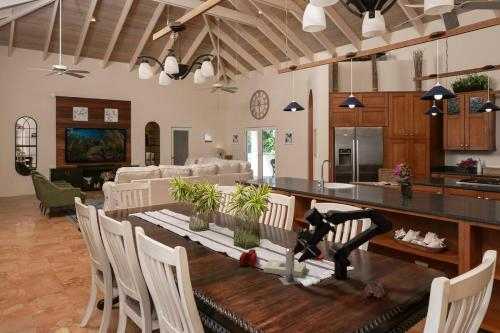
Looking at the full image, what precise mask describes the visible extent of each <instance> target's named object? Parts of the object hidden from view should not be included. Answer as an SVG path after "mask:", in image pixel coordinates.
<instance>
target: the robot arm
mask: <svg viewBox="0 0 500 333" xmlns="http://www.w3.org/2000/svg"><path fill="white" fill-rule="evenodd" d="M303 219H305V221H307V223H309V225H311V226H312V227H314V228H313V229H307V228H304V227H301V226H297V228H296V230H295V234H297V235H296V236H295V245H294V248H293V249H294V250H295V252H294V256H296V255H297V254H299V253H301V252H302V251H303V253H301V256H300V257H299V258H298V259H297V262H298V263H304V262H305V261H308V260H312V259H311V258H314V257H315V258H316V256H317V257H320V255H322V250H321V249H320V248H319V247H318V244H320V242H322V243H323V242H324V238H325V237H326V236H327V235H328V234H329V233H330V232H331V233H333V234H335V233H336V227H335V226H338V225H342V224H344V223H346V222H349V221H357V220H365V219H366V220H367V219H369V220H370V221H371V223H370V225H369V227H368V228H366V229H364V230H363V231H362V232H360V233H358V234H357V235H355V236H354V237H352V238H350V239H349V240H347V241H345V242H344V243H341V242H339V241H337V242H336V243H334V244H332V245H330V248H329V249H328V253H327V255H328V257H329V258H330V259H331V261H332V262H333V264H334V266H333V272H334V273H331V274H330V275H331V276H332V277H333V278H334V279H336V280H337V281H341V280H342V281H343V280H350V279H351V277H350V276H349V275H348V267H351V264H352V262H351V260H349V257H350V255H351V253H352V252H353V251H355V250H357V249H358V248H360V247H361V246H363V245H364V244H366V243H367V242H370V240H372V239H374V238H375V237H377V236H382V235H386V234H387V233H390V232H391V231H392V230H393V226H394V224H393V222H392V220H390V219H388V218H386V217H384V216H383V215H381V214H380V213H379V212H378V211H377V210H376V209H374V208H371V207H368V208H362V209H355V210H354V209H353V210H346V211H344V210H336V209H329V210H327V212H322V213H321V212H320V211H319V210H318V208H316V207H315V206H313V207H312V208H310V209H307V211H305V212H304V214H303ZM331 224H332V225H331ZM316 245H317V246H316ZM315 255H316V256H315Z"/></svg>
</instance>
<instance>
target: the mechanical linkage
mask: <svg viewBox="0 0 500 333" xmlns="http://www.w3.org/2000/svg"><path fill="white" fill-rule="evenodd" d="M238 260H239V266H245V265H246V263H247V264H248V263H249V266H250V267H255V266H256V264H257V263H256V262H258V253H257V252H256V249H254V248H252V249H251V248H250V249H249V251H248V252H246V251H243V252H242V253H241V254H240V255H239V259H238Z"/></svg>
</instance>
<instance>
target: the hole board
mask: <svg viewBox="0 0 500 333" xmlns="http://www.w3.org/2000/svg"><path fill="white" fill-rule="evenodd" d="M306 269H307V263H305V262H300V263H299V262H298V261H296V262H295V261H294V277H298V276H299V277H300V278H301V277H302V276H303V275H304V272H305V271H306ZM263 273H267V274H276V275H283V276H286V260H278V259H272V258H271V259H269V260H268V262H267V263H265V265H264V266H263Z"/></svg>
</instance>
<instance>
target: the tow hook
mask: <svg viewBox="0 0 500 333" xmlns="http://www.w3.org/2000/svg"><path fill="white" fill-rule="evenodd" d="M316 246H317V247H318V244H317V245H316ZM315 256H316V255H315ZM323 258H324V255H323V254H321V255H320V256H319V257H317V256H316V258H315V257H314V258H311V259H310V260H314V261H323Z"/></svg>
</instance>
